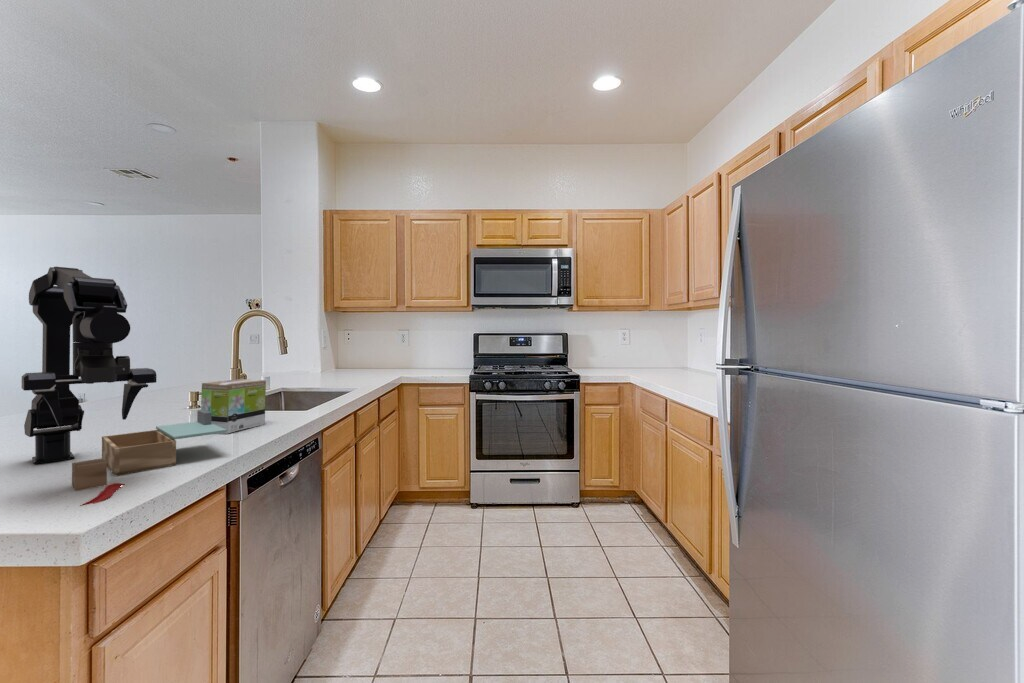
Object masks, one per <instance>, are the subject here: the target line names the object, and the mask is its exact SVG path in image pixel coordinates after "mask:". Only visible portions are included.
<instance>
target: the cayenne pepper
mask: <svg viewBox="0 0 1024 683" xmlns="http://www.w3.org/2000/svg"><path fill="white" fill-rule="evenodd" d="M125 484H126V483H120V482H113V483H110V484H107V485H105V488H103V490H102V491H100V492H99V493H98V495H96V496H95V497H93V498H92V499H90V500H88V501H86V502H84V503H82V504H80V505H78V507H83V506H87V505H91V504H97V503H100V502H104V501H107V500H108V498H109V499H111V498H112V497H113V495H114V493H115V492H117V491H118V490H120V489H121V487H120V486H121V485H123V486H126V485H125ZM119 488H120V489H119ZM116 490H117V491H116ZM111 496H112V497H111ZM110 497H111V498H110ZM106 499H107V500H106Z"/></svg>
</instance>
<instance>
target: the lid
mask: <svg viewBox="0 0 1024 683" xmlns="http://www.w3.org/2000/svg"><path fill="white" fill-rule="evenodd" d="M196 411H197V412H196V415H197V416H196V418H197V419H196V421H190V422H189V421H188V422H182V423H174V424H163V425H157V426H155V430H159V431H161V432H162V433H164V434H166V435H167V436H169V437H170V438H172V439H174V440H180V439H181V440H182V439H188V438H195V437H196V438H197V437H203V436H210V435H218V434H220V433H225V432H227V430H226V429H224V428H221V427H219V426H217V425H214V424H212V423H211V412H209V411H206V410H201V409H197V410H196Z"/></svg>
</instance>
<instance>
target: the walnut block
mask: <svg viewBox="0 0 1024 683" xmlns="http://www.w3.org/2000/svg"><path fill="white" fill-rule="evenodd" d="M107 468H108V467H107V462H106V461H105V460H104V459H103V458H102V457H100V458H94V459H88V460H82V461H75V462H71V486H72V489H73V490H74V492H78V491H81V490H88V489H93V488H99V486H100V487H104V485H105V486H108V469H107Z"/></svg>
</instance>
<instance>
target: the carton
mask: <svg viewBox="0 0 1024 683" xmlns="http://www.w3.org/2000/svg"><path fill="white" fill-rule="evenodd" d="M101 458H103V459H104V460H105V461H106V462H107V468H108V470H109V471H110V472H111V471H112V472H111V473H112V474H113V475H114V476H115V475H117V476H121V474H122V475H126V474H127V475H128V474H134V473H138V472H145V471H151V470H155V469H156V470H157V469H162V468H167V467H173V466H177V439H175V440H174V439H172V438H170V437H169V436H167V435H166V434H164V433H162V432H161V431H159V430H157V429H154V430H152V429H151V430H144V431H143V430H142V431H137V432H128V433H121V434H120V433H119V434H112V435H111V434H110V435H104V436H101Z"/></svg>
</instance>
